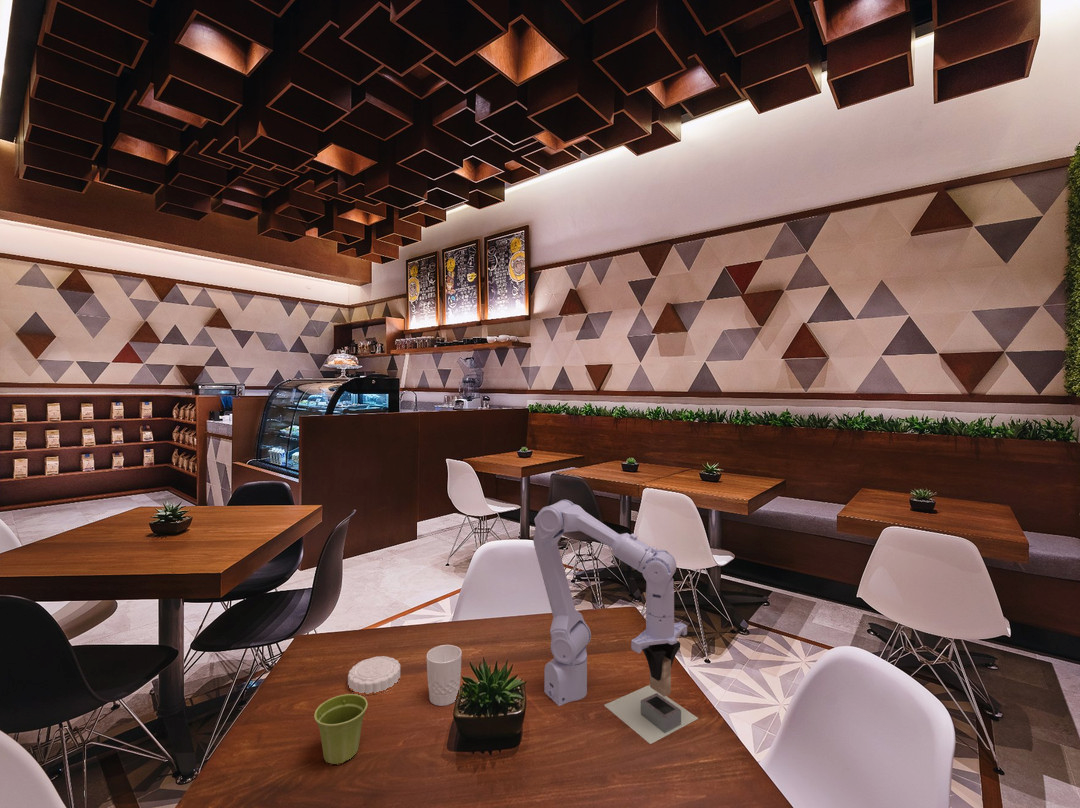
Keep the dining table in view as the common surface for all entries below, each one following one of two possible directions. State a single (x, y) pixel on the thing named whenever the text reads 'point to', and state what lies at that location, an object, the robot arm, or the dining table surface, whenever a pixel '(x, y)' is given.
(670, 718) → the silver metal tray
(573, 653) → the robot arm
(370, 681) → the mooncake
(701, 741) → the dining table surface
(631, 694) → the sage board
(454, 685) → the white cup
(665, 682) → the wooden block
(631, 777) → the dining table surface
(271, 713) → the dining table surface
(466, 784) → the dining table surface
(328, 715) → the plant pot
